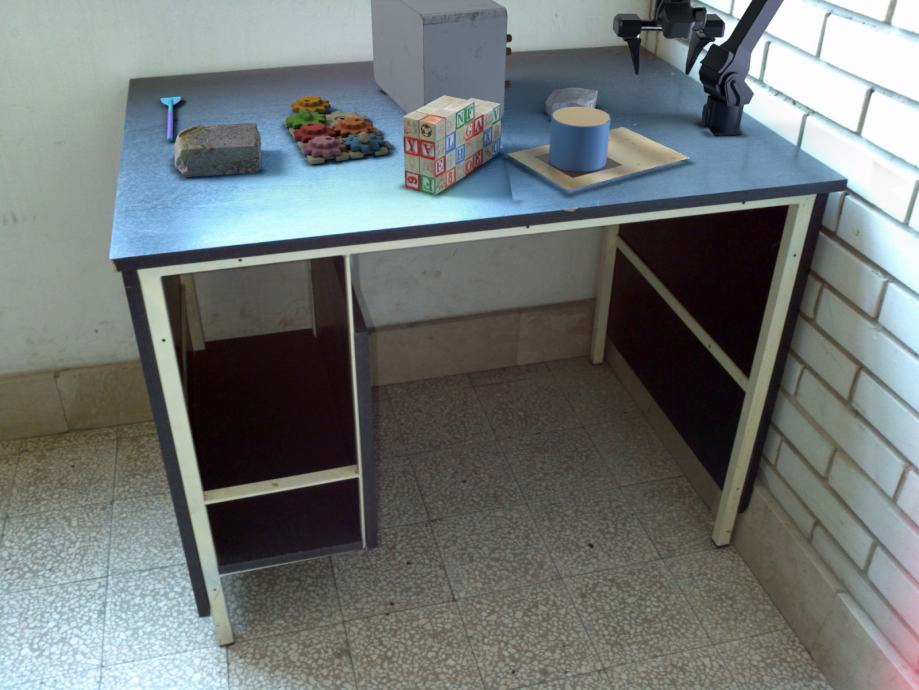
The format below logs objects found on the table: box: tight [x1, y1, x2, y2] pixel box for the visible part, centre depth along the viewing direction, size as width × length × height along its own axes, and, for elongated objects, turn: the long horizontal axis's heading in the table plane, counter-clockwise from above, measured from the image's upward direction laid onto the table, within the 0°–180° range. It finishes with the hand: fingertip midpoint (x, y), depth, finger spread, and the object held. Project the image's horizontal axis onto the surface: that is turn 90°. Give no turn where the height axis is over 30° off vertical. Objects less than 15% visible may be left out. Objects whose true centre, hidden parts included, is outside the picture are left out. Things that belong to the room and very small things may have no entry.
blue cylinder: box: [549, 107, 612, 172], centre depth 153 cm, size 10×10×8 cm
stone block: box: [544, 87, 598, 117], centre depth 178 cm, size 12×5×10 cm
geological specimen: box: [173, 122, 262, 178], centre depth 154 cm, size 11×6×15 cm
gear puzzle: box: [284, 94, 392, 165], centre depth 168 cm, size 31×16×4 cm, turn 21°
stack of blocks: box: [402, 95, 502, 196], centre depth 150 cm, size 21×6×12 cm, turn 148°
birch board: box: [506, 126, 690, 191], centre depth 158 cm, size 27×18×1 cm, turn 122°
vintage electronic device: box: [370, 0, 513, 120], centre depth 174 cm, size 32×18×25 cm, turn 22°
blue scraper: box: [160, 96, 182, 142], centre depth 173 cm, size 25×4×1 cm, turn 11°
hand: (661, 74), depth 161 cm, fingers open, 9 cm apart
